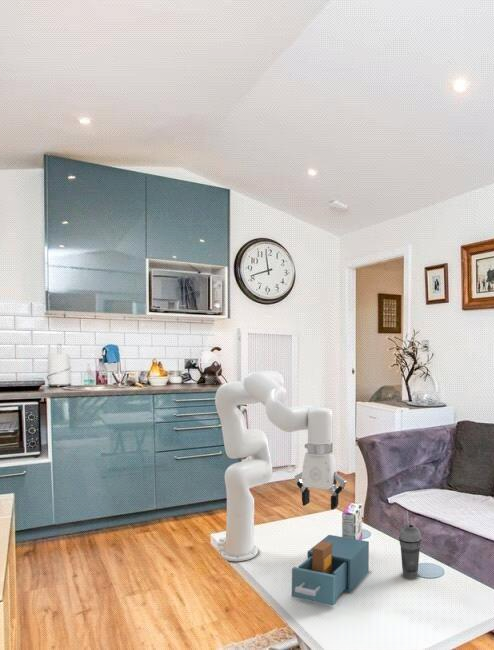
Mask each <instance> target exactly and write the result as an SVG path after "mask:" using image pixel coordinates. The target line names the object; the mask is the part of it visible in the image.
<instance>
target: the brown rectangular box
mask: <svg viewBox="0 0 494 650" xmlns="http://www.w3.org/2000/svg"><path fill="white" fill-rule="evenodd" d="M320 541H321V542H320ZM320 541H319V542H320V543H319V542H318V543H319V544H318V543H317V544H318V545H316V544H315V545H316V546H315V545H314V546H315V547H314V546H313V547H314V548H313V547H312V548H313V558H312V571H317V572H322V573H327V574H332V543H331V542H325V541H322V540H320Z"/></svg>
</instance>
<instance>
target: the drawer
mask: <svg viewBox="0 0 494 650" xmlns="http://www.w3.org/2000/svg"><path fill="white" fill-rule="evenodd" d="M312 558H313V555H312V556H310V557H309V558H308V557H307V559H306V560H304V561H303V562H301V564H299V565H298V567H297V566H293V567H292V568H291V597H292V598H298V599H300V600H301V599H302V600H306V601H309V602H314V603H317V604H321V605H322V604H323V605H327V606H332V607H334V606H335V604H336V599H338V597H339V596H340V595H341V594H342V593H343V592H344V590H345V589H346V587H347V586H348V562H347V561H342V560H337V559H332V574H327V573H322V572H317V571H312Z"/></svg>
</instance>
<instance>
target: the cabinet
mask: <svg viewBox="0 0 494 650" xmlns="http://www.w3.org/2000/svg"><path fill="white" fill-rule="evenodd" d="M321 541H325V542H331V543H332V559H337V560H342V561H347V562H348V586H347V587H346V589H345V590H344V591H343V592H345V593H349V594H350V593H352V592H353V590H355V588H356V587H357V586H358V585H359V583H360V582H361V581H362V580H363V579H364V578H365V577H366V575H368V573H369V572H370V571H369V570H370V567H369V565H370V561H369V560H370V558H369V557H370V541H368V540H363V539H362V540H357V539H351V538H345V537H342V536H338V535H332V534H328V535H327V536H325V537H324V538H323V539H321V540H320V541H319V542H318V543H316V544H315V545H314V546H312V547H311V548H310V549H309V550H307V559H308V558H309V557H310V556H312V555H313V548H314V547H315V546H316V545H318V544H319V543H320V542H321Z"/></svg>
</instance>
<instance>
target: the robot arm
mask: <svg viewBox="0 0 494 650" xmlns="http://www.w3.org/2000/svg"><path fill="white" fill-rule="evenodd" d="M284 386H285V381H284V377H283V375H282V374H281V373H280V372H279V371H276V370H256V371H255V370H254V371H252V372H249V373H248V374H247V375H245V377H244V378H243V380H241V381H229V382H226V383H223V384H221V385H220V386H219V387H218V388H217V390H216V392H215V395H214V396H215V397H214V403H215V409H216V412H217V414H218V417H219V420H220V424H221V432H222V438H223V445H224V450H225V454H226V456H227V458H229V459H232V460H233V459H235V460H236V459H242V458H247V457H251V459H246V460H243V461H237V462H235V463H232V464H230V465H229V466H228V467H227V468H226V470H225V472H224V484H225V490H226V518H225V519H226V521H225V537H222V536H221V537H219V539H218V541H217V546H219V547H222V549H221V551H220V558H221V559H223V560H225V561H228V562H243V561H248V560H250V559H253V558H255V557H256V556H257V555H258V553H259V548H258V547H257V545H255V544H254V543H255V498H254V496H253V495H252V493H251V491H250V489H252V488H255V487H260V486H262V485H265V484H268V483H269V482H270V481H271V479H272V477H273V463H272V457H271V452H270V446H269V441H268V437H267V434H266V433H265V432H264V431H263V430H262V429H260V428H249V429H248V428H247V424H246V418H245V416H244V413H243V412H242V410H241V409H239V407H238V406H242V405H244V406H245V405H252V404H258V403H261V404H262V405H263V406H265V413H266V416H267V418H268V420H269V422H271V424H273V425H274V426H275V427H277V428H278V429H279V430H281V431H283V432H285V433H294V432H298V431H305V430H307V443H304V449H306V451H307V452H305V454H304V458H303V462H302V463H303V464H302V472H299V473H297V474H296V475H294V480H295V482H296V485H297V486H298V488H299V491H300V492H301V503H302V506H303V507H305V506H307V505H308V504H310V501H311V500H310V496H311V495H310V492H311V491H310V489H317V490H329V492H330V493H331V496H330V510H335V509H336V508H338V505H339V494H341V492H342V491H343V490H344V488H345V486H346V484H347V479H345V478H344V477H342V476H341V475H339V474H338V470H337V461H336V456H335V453H334V452H333V416H334V415H333V410H332V409H331V408H329V407H320V406H319V407H318V406H316V405H312V404H306V405H296V406H287V405H284V403H286V400H287V394H288V393H287V390H286V388H285V387H284ZM337 483H339V486H337ZM309 488H310V489H309Z"/></svg>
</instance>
